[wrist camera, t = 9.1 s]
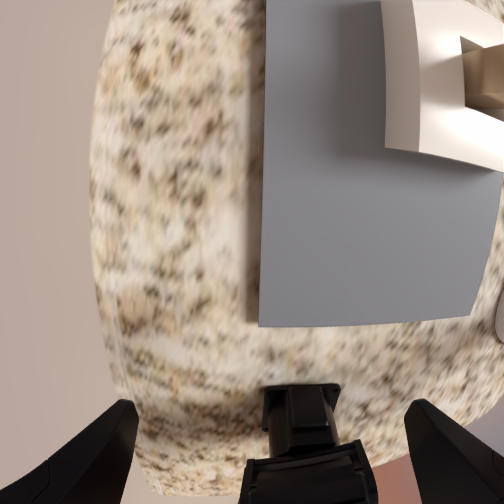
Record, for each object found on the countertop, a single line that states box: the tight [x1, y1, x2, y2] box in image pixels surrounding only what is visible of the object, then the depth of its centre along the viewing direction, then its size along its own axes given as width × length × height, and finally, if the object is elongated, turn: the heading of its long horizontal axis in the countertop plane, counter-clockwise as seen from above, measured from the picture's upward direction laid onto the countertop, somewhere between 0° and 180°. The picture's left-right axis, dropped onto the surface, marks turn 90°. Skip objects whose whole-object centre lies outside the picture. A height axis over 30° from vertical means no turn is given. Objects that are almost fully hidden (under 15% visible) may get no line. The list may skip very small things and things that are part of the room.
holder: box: [380, 0, 504, 173], centre depth 12 cm, size 10×10×4 cm
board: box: [258, 0, 503, 327], centre depth 16 cm, size 24×18×1 cm
